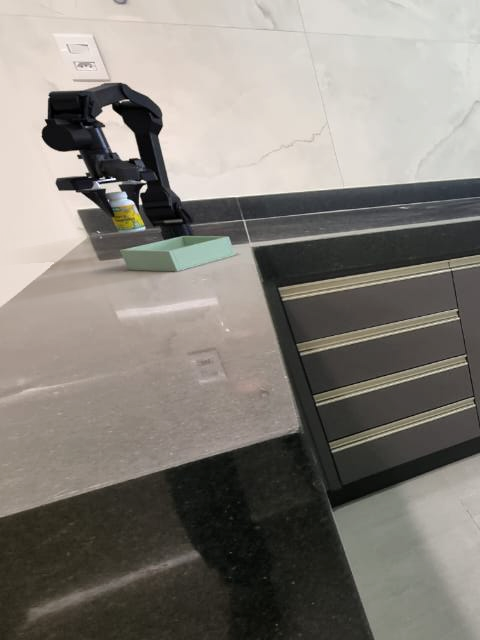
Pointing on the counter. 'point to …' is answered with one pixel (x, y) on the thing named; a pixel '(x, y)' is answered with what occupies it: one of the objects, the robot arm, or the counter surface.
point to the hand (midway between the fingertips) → (125, 215)
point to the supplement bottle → (125, 213)
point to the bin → (177, 253)
